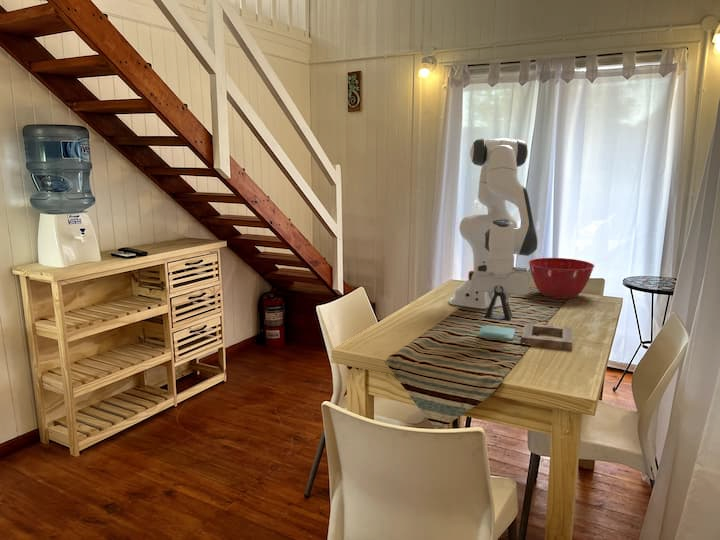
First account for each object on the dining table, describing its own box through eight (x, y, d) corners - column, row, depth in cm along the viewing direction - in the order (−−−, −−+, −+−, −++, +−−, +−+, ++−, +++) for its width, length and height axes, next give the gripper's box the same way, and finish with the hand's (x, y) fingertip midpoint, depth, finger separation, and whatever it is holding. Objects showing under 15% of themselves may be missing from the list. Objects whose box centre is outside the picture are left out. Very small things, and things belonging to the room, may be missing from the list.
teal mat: (477, 336, 191) (477, 334, 191) (482, 327, 202) (482, 325, 202) (512, 340, 187) (512, 338, 187) (515, 330, 198) (515, 328, 198)
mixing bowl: (587, 306, 233) (590, 271, 230) (520, 298, 247) (522, 264, 244) (595, 292, 257) (597, 260, 254) (533, 286, 271) (535, 255, 268)
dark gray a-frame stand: (512, 316, 194) (514, 284, 192) (510, 321, 189) (511, 287, 187) (486, 314, 198) (488, 282, 195) (484, 318, 192) (485, 285, 190)
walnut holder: (521, 344, 183) (521, 337, 183) (524, 329, 200) (525, 322, 199) (571, 349, 178) (572, 342, 177) (571, 334, 194) (571, 327, 194)
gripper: (532, 266, 189) (529, 305, 192) (473, 263, 196) (471, 300, 199) (531, 269, 183) (528, 309, 186) (470, 266, 190) (468, 304, 193)
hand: (498, 304), depth 192 cm, fingers closed on dark gray a-frame stand, 2 cm apart
